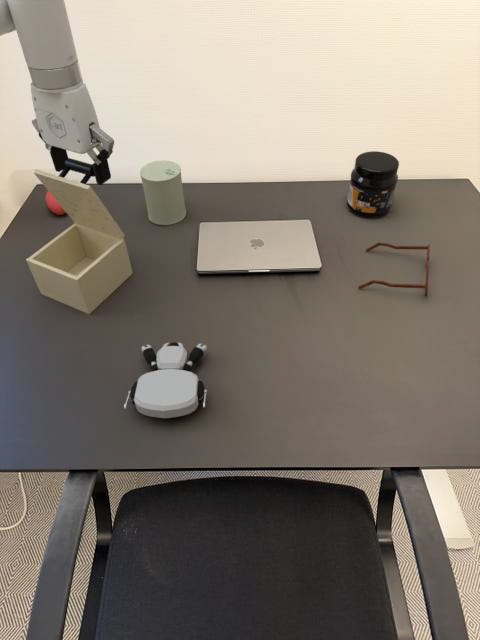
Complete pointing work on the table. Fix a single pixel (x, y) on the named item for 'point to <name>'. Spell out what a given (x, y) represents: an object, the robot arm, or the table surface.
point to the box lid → (79, 197)
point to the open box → (81, 267)
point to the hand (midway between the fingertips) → (83, 174)
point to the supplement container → (372, 184)
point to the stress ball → (54, 204)
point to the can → (163, 192)
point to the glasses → (401, 284)
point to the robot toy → (169, 382)
